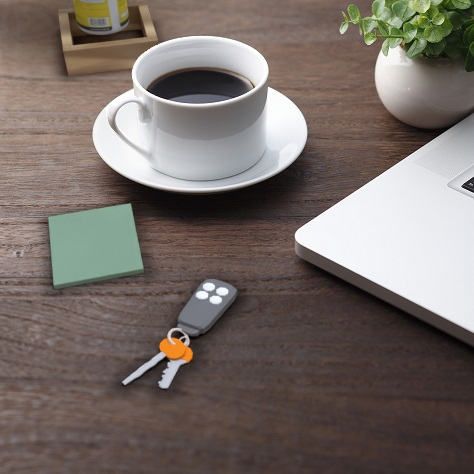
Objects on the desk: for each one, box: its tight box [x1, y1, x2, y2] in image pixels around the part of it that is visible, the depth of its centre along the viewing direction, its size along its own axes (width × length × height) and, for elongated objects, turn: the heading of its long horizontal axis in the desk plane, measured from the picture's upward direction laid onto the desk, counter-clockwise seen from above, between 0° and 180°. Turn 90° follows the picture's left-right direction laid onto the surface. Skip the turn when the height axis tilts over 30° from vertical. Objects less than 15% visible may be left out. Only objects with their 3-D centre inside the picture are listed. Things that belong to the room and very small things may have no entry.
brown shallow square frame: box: [57, 0, 160, 77], centre depth 106 cm, size 11×11×4 cm
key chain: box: [121, 278, 238, 390], centre depth 70 cm, size 13×4×2 cm, turn 157°
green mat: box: [47, 202, 145, 290], centre depth 79 cm, size 10×8×1 cm
